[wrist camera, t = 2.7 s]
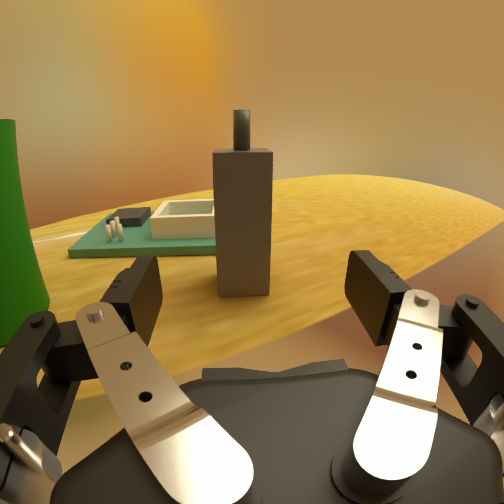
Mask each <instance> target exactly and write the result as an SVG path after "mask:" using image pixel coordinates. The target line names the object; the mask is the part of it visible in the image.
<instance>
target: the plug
mask: <svg viewBox="0 0 504 504" xmlns="http://www.w3.org/2000/svg"><path fill="white" fill-rule="evenodd" d="M233 111H234V112H233V118H234V119H233V123H234V125H233V129H234V131H233V132H234V133H233V134H234V149H215V151H214V152H213V190H214V218H215V242H216V262H217V280H218V296H219V297H227V296H261V295H269V284H270V254H271V220H272V175H273V173H272V172H273V152H271V151H269V150H268V149H266V148H250V110H233Z"/></svg>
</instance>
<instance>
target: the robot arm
mask: <svg viewBox="0 0 504 504" xmlns="http://www.w3.org/2000/svg"><path fill="white" fill-rule="evenodd" d="M345 295H346V298H347V299H348V301H349V303H350V304H351V306H352V308H353V309H354V310H355V312H356V314H357V316H358V317H359V319H360V321H361V322H362V324H363V326H364V327H365V329H366V331H367V333H368V334H369V336H370V338H371V339H372V341H373V343H374V344H375V346H381V345H388V349H387V352H386V355H385V357H384V361H383V363H382V366H381V369H380V371H379V375H376V374H373V373H370V372H367V371H363V370H359V369H351V368H348V367H347V364H346V362H345V360H344V359H339V360H331V361H322V362H313V363H309V364H306V365H302V366H299V367H295V368H292V369H288V370H285V371H281V372H266V371H258V370H251V369H244V368H203V370H202V379H197V380H194V381H190V382H187V383H185V384H182V385H180V386H178V385H177V384H176V383H175V382H174V381H173V379H172V378H171V377H170V376H169V374H168V373H167V372H166V371H165V369H164V368H163V367H162V366H161V364H160V363H159V362H158V361H157V359H156V358H155V357H154V355H153V354H152V353H151V351H150V350H149V349H148V344H149V341H150V338H151V335H152V332H153V329H154V326H155V323H156V320H157V317H158V314H159V311H160V308H161V305H162V298H163V294H162V286H161V280H160V274H159V267H158V261H157V258H156V256H138V257H137V258H136V260H135V261H134V263H133V264H132V266H131V267H130V268H126V269H124V270H123V271H122V272H120V273H119V274H118V275H117V276H116V277H115V279H114V280H113V282H112V283H111V285H110V288H108V289H107V291H106V292H105V294H104V295H103V297H102V299H101V300H100V302H96V303H92V304H89V305H86V306H84V307H83V308H81V309H80V310H79V311H78V313H77V314H76V320H73V321H67V322H61V323H57V320H56V318H55V315H54V314H53V313H52V312H50V311H39V312H36V313H34V314H32V315H30V316H29V317H27V318H26V319H25V320H24V321H23V323H22V324H21V325H20V327H19V328H18V330H17V331H16V332H15V334H14V335H13V337H12V338H11V339H10V341H9V342H8V344H7V345H6V347H5V348H4V350H3V351H2V353H1V354H0V504H504V488H503V477H504V323H503V322H502V321H501V320H500V319H499V318H498V317H497V316H496V315H495V314H494V313H493V312H492V311H491V310H490V309H489V308H488V307H487V306H486V305H485V304H484V303H483V302H482V301H481V300H480V299H478V298H476V297H474V296H471V295H467V294H462V295H459V296H457V298H456V301H455V303H454V306H443V305H439V301H438V299H437V298H436V297H435V296H434V295H432V294H430V293H429V292H426V291H423V290H412V289H411V288H410V287H409V286H408V285H407V284H406V283H405V282H404V281H403V280H402V279H401V278H399V276H398V275H397V274H396V273H395V272H394V271H393V270H392V269H391V268H390V267H389V266H388V265H386V264H385V263H383V262H381V261H379V260H378V259H377V258H376V257H375V256H374V255H373V254H372V253H371V252H370V251H369V250H358V251H351V252H350V254H349V259H348V266H347V273H346V279H345ZM473 340H474V342H475V343H476V344H477V345H478V347H479V348H480V349H481V351H482V362H481V364H480V366H479V368H478V367H477V366H476V365H475V363H474V362H473V360H472V359H471V358H470V356H469V355H468V353H467V352H468V350H469V348H470V346H471V344H472V342H473ZM41 368H42V370H43V371H44V373H45V374H44V376H43V378H42V380H41V382H40V384H39V387H38V388H37V383H36V379H37V375H38V372H39V371H40V369H41ZM440 372H441V373H442V375H443V377H444V378H445V380H446V382H447V383H448V385H449V387H450V388H451V390H452V392H453V393H454V395H455V397H456V398H457V400H458V402H459V404H460V406H461V408H462V409H463V411H464V413H465V415H466V417H467V418H468V420H469V422H470V424H471V425H469V424H467V423H466V422H463V421H462V420H460V419H458V418H456V417H454V416H452V415H450V414H448V413H446V412H444V411H442V410H441V409H439V408H437V407H436V405H435V402H436V396H437V389H438V382H439V374H440ZM96 378H99V379H100V381H101V383H102V385H103V387H104V389H105V391H106V394H107V396H108V397H109V399H110V401H111V403H112V405H113V407H114V409H115V411H116V413H117V415H118V417H119V418H120V420H121V422H122V423H123V425H124V428H123V429H122V430H121V431H119V432H118V433H117V434H116V435H114V436H113V437H112V438H110V439H109V440H108V441H107V442H106V443H104V444H103V445H101V446H100V447H99V448H97V449H96V450H95V451H93V452H92V453H91V454H90V455H88V456H87V457H86V458H84V459H83V460H82V461H80V462H79V463H77V464H76V465H75V466H73V467H72V468H71V469H69V470H68V471H67V472H65V473H64V474H63V475H62V468H61V463H60V461H59V460H58V458H57V457H56V456H57V452H58V449H59V445H60V442H61V439H62V435H63V432H64V429H65V425H66V422H67V419H68V416H69V413H70V410H71V408H72V404H73V402H74V399H75V396H76V393H77V391H78V388H79V385H80V383H81V381H82V380H89V379H96ZM61 475H62V476H61Z"/></svg>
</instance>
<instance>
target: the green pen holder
mask: <svg viewBox="0 0 504 504" xmlns="http://www.w3.org/2000/svg"><path fill="white" fill-rule="evenodd" d="M48 306H49V296H48V293H47V290H46V287H45V284H44V281H43V278H42V274H41V271H40V268H39V265H38V261H37V258H36V254H35V250H34V246H33V242H32V238H31V234H30V230H29V226H28V221H27V216H26V211H25V206H24V201H23V195H22V189H21V182H20V174H19V166H18V156H17V144H16V126H15V120H12V119H1V120H0V347H1V346H4V345H7V344H8V342H9V341H10V339H11V338H12V337H13V335H14V334H15V332H16V331H17V330H18V328H19V327H20V325H21V324H22V323H23V321H24V320H25V319H26V318H27V317H29V316H30V315H32V314H34V313H36V312H39V311H47V309H48Z"/></svg>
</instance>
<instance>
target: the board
mask: <svg viewBox="0 0 504 504" xmlns="http://www.w3.org/2000/svg"><path fill="white" fill-rule="evenodd" d="M68 253H69V257H70V258H86V257H132V256H177V255H216V242H215V218H214V199H198V200H174V201H164V202H163V203H162V204H161V205H160V207H159V208H158V209H157V210H156V211H151V210H150V207H142V208H126V209H118V210H117V211H116V212H114V213H113V214H109V215H108V216H107V217H105V218H104V219H103V220H102V221H101V222H99V223H98V224H97V225H96V226H95V227H93V228H92V229H91V230H90V231H89V232H87V233H86V234H85V235H84V236H83V237H82V238H81V239H79V240H78V241H77V242H76V243H75V244H74V245H73V246H72V247H70V248H69V249H68Z"/></svg>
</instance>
